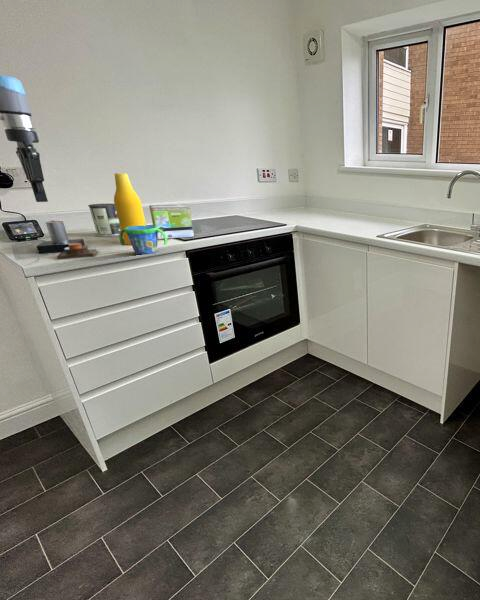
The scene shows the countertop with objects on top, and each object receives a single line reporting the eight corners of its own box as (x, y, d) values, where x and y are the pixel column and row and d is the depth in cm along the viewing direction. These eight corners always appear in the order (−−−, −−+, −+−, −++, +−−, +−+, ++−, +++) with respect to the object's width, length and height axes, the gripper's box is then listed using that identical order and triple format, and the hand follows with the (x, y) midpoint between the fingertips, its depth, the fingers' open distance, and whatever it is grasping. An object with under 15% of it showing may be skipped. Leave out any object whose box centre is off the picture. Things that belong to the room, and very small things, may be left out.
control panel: (38, 253, 133) (35, 245, 132) (47, 248, 141) (44, 240, 140) (79, 251, 139) (77, 243, 137) (85, 245, 147) (83, 238, 145)
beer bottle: (119, 244, 150) (100, 173, 140) (134, 240, 159) (118, 172, 148) (140, 245, 150) (123, 174, 140) (155, 241, 159) (139, 173, 148)
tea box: (158, 240, 161) (150, 207, 156) (155, 236, 168) (148, 204, 163) (194, 237, 170) (189, 205, 165) (190, 233, 177) (185, 203, 172)
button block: (57, 259, 127) (54, 251, 126) (63, 254, 133) (61, 246, 132) (92, 256, 132) (90, 248, 131) (97, 251, 138) (94, 244, 137)
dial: (71, 241, 140) (65, 220, 137) (55, 244, 135) (48, 222, 132) (66, 240, 142) (59, 219, 139) (50, 242, 138) (42, 221, 135)
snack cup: (174, 250, 145) (169, 225, 141) (161, 256, 135) (155, 229, 132) (133, 250, 143) (126, 224, 139) (117, 256, 133) (110, 229, 129)
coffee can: (122, 231, 176) (115, 203, 171) (125, 235, 169) (117, 205, 164) (96, 233, 169) (87, 203, 164) (97, 237, 162) (88, 206, 157)
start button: (68, 250, 129) (67, 245, 129) (71, 248, 132) (69, 243, 132) (81, 249, 131) (79, 244, 130) (83, 247, 134) (82, 242, 133)
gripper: (-3, 128, 117) (21, 200, 126) (11, 127, 111) (34, 204, 120) (28, 130, 123) (48, 199, 132) (42, 130, 117) (63, 202, 126)
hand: (42, 201), depth 126 cm, fingers closed
